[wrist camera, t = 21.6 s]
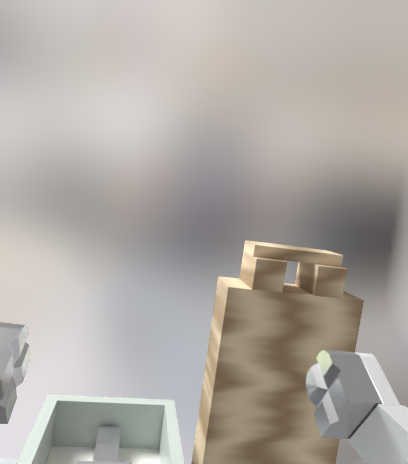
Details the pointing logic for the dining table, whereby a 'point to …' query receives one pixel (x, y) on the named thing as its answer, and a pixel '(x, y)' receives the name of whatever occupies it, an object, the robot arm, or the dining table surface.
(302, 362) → the tan wooden tall block
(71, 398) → the raised tray
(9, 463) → the dining table surface
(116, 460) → the bar
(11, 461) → the dining table surface
